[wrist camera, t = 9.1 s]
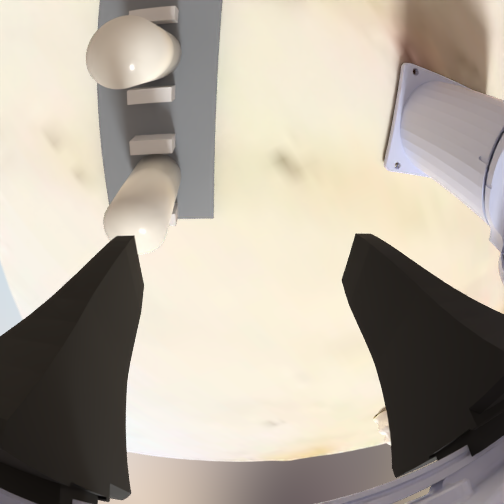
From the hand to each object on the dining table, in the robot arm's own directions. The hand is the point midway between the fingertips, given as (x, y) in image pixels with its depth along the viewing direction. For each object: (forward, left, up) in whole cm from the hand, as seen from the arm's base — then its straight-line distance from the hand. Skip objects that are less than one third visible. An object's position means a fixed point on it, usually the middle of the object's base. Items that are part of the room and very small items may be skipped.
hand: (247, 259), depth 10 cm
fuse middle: (+5, -7, -10) cm, 13 cm away
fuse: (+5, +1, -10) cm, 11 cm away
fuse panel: (+5, -7, -10) cm, 13 cm away
